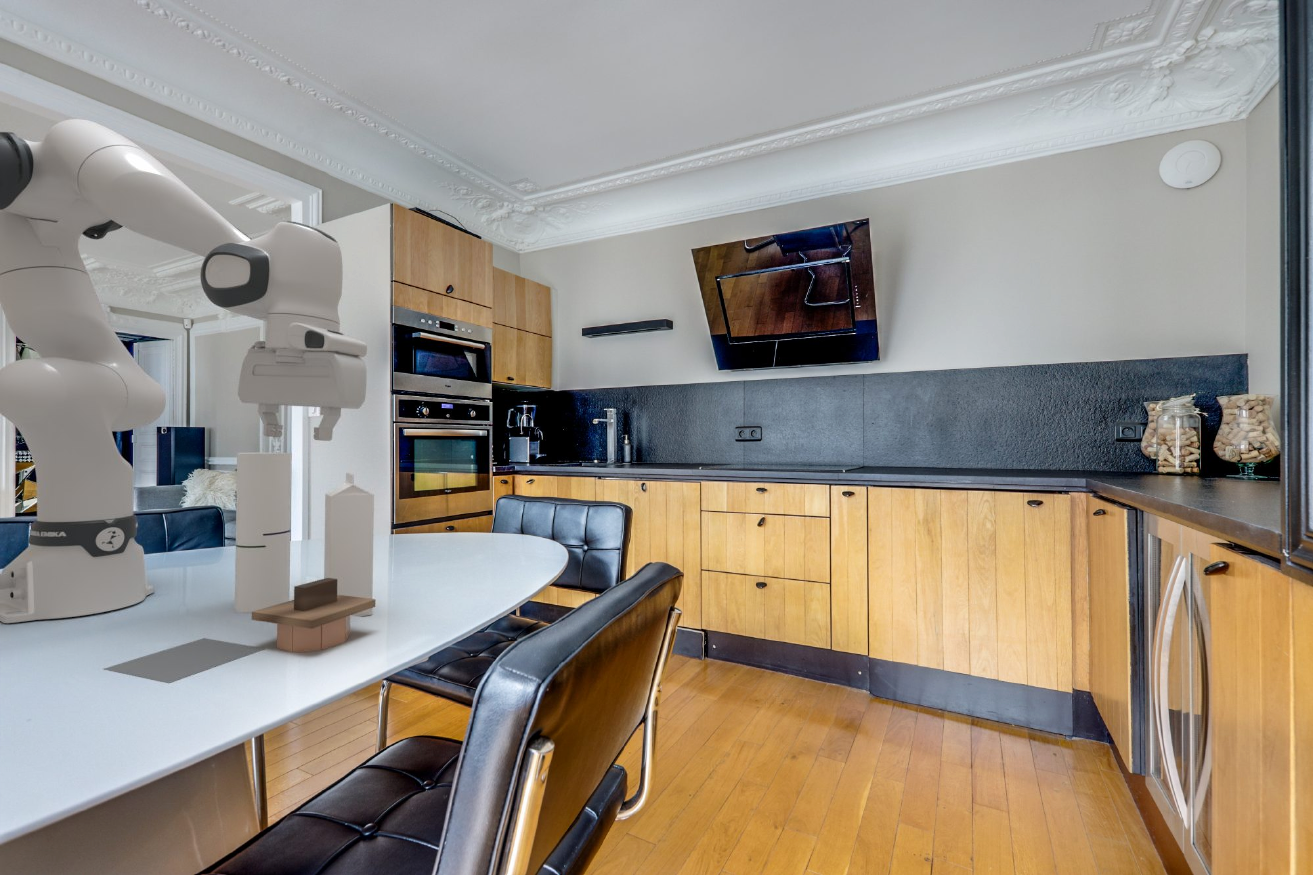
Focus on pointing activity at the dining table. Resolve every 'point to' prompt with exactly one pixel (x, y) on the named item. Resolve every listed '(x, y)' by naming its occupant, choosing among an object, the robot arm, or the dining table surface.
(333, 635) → the bowl
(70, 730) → the dining table surface
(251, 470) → the cylindrical container
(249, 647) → the mat
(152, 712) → the dining table surface
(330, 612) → the lid
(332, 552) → the milk
